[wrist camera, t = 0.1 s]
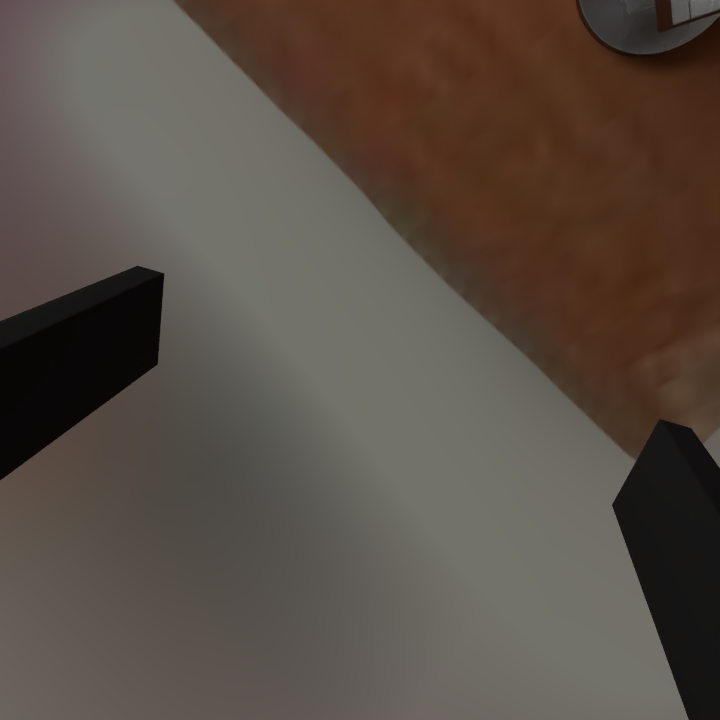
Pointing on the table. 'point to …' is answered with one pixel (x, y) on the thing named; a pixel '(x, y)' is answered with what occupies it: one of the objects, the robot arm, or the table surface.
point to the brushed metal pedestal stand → (646, 23)
